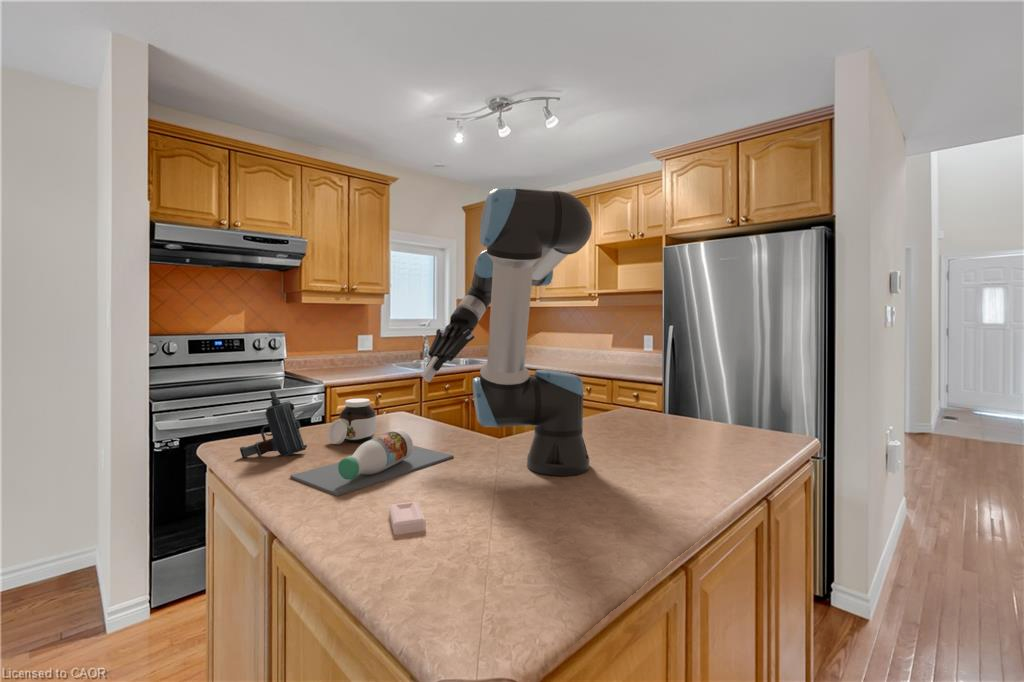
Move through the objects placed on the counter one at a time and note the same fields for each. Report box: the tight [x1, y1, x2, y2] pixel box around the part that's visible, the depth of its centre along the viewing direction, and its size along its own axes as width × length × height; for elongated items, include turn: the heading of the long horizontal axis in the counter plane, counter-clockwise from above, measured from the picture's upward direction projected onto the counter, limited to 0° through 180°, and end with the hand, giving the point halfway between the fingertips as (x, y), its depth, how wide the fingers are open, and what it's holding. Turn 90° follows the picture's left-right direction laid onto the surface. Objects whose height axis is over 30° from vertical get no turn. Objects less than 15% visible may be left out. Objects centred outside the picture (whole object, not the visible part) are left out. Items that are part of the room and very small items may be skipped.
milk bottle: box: [338, 429, 414, 479], centre depth 115 cm, size 8×8×20 cm
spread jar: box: [327, 398, 378, 445], centre depth 144 cm, size 12×11×12 cm
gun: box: [239, 390, 308, 459], centre depth 128 cm, size 3×17×15 cm
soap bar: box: [388, 501, 427, 536], centre depth 89 cm, size 5×9×2 cm, turn 19°
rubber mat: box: [289, 445, 455, 497], centre depth 120 cm, size 34×18×1 cm, turn 143°
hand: (425, 378), depth 131 cm, fingers closed
